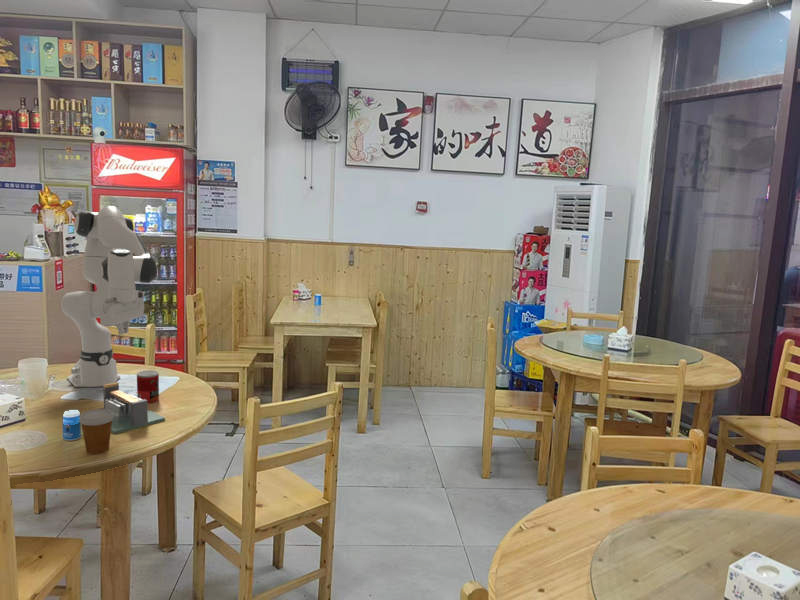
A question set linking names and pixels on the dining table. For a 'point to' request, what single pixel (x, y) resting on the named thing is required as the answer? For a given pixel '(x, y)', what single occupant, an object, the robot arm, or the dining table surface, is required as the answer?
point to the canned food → (148, 386)
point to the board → (128, 423)
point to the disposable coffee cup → (96, 430)
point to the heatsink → (119, 409)
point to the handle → (123, 396)
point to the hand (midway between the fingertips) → (123, 333)
